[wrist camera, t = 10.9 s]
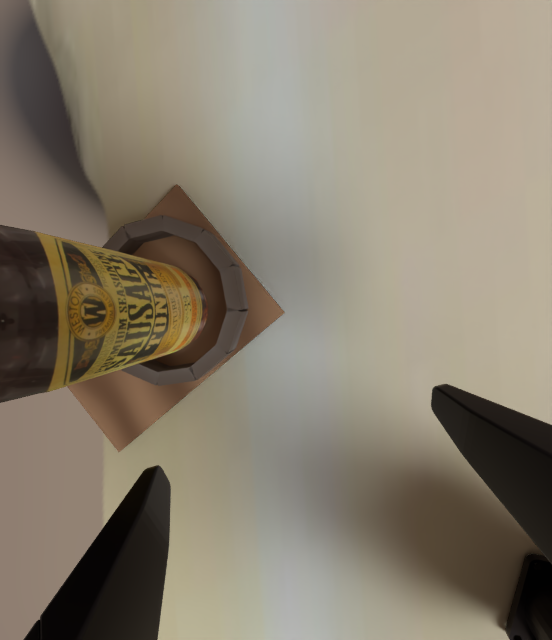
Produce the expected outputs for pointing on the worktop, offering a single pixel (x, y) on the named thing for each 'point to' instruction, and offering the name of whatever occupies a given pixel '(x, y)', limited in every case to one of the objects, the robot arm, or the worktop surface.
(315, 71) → the worktop surface
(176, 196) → the cup bracket
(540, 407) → the worktop surface
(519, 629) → the robot arm
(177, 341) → the sauce bottle
